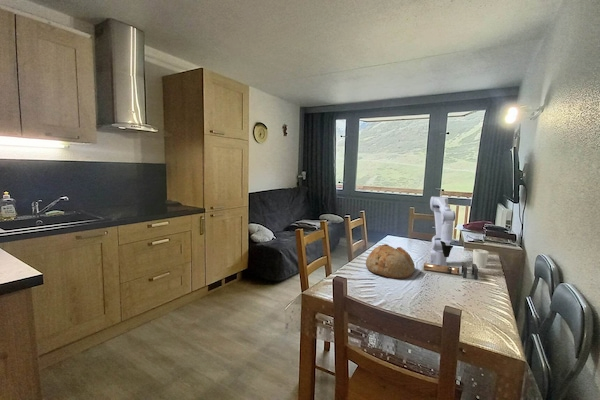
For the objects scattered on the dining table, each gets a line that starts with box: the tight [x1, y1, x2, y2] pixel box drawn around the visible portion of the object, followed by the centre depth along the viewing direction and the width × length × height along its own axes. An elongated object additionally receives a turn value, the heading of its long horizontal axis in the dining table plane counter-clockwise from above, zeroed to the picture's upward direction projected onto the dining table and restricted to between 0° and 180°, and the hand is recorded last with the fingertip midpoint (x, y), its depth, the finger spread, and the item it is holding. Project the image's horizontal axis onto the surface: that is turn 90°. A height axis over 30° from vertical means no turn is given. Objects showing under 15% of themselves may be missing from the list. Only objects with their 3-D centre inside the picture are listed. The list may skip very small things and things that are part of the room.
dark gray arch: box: [460, 261, 468, 278], centre depth 153 cm, size 2×9×6 cm, turn 155°
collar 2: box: [471, 262, 479, 281], centre depth 151 cm, size 2×9×6 cm, turn 156°
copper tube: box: [423, 262, 460, 275], centre depth 158 cm, size 18×4×4 cm, turn 66°
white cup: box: [472, 248, 490, 269], centre depth 168 cm, size 8×8×10 cm
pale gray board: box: [421, 265, 482, 282], centre depth 157 cm, size 29×11×1 cm, turn 66°
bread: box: [365, 243, 416, 279], centre depth 160 cm, size 26×23×15 cm
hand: (445, 255), depth 159 cm, fingers open, 7 cm apart
